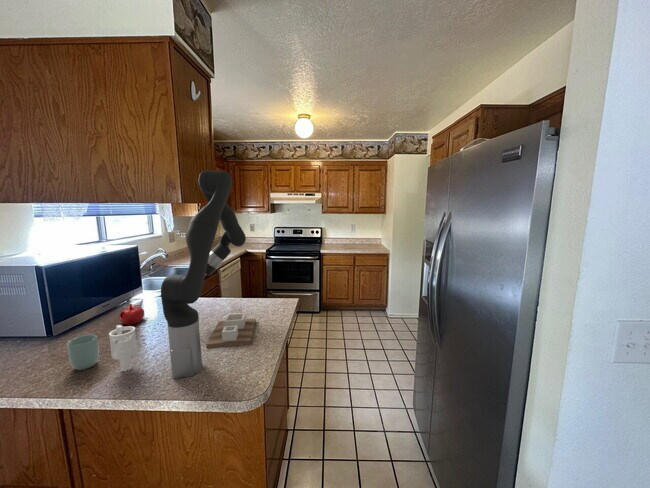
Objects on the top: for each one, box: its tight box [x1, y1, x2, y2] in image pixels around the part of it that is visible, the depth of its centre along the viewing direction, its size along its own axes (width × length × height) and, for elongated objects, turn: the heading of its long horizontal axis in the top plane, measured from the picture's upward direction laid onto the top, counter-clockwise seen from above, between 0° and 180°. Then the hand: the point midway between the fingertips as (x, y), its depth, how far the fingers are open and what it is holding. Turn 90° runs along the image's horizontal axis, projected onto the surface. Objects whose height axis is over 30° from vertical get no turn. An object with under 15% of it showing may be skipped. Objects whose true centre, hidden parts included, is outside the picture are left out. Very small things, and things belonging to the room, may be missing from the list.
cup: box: [66, 333, 100, 371], centre depth 93 cm, size 8×8×10 cm
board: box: [205, 318, 257, 349], centre depth 117 cm, size 22×17×2 cm
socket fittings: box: [222, 312, 247, 341], centre depth 117 cm, size 19×8×4 cm, turn 9°
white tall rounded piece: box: [108, 324, 138, 372], centre depth 91 cm, size 7×7×15 cm
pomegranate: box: [118, 303, 145, 326], centre depth 129 cm, size 10×10×9 cm
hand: (183, 291), depth 120 cm, fingers closed on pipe, 4 cm apart
